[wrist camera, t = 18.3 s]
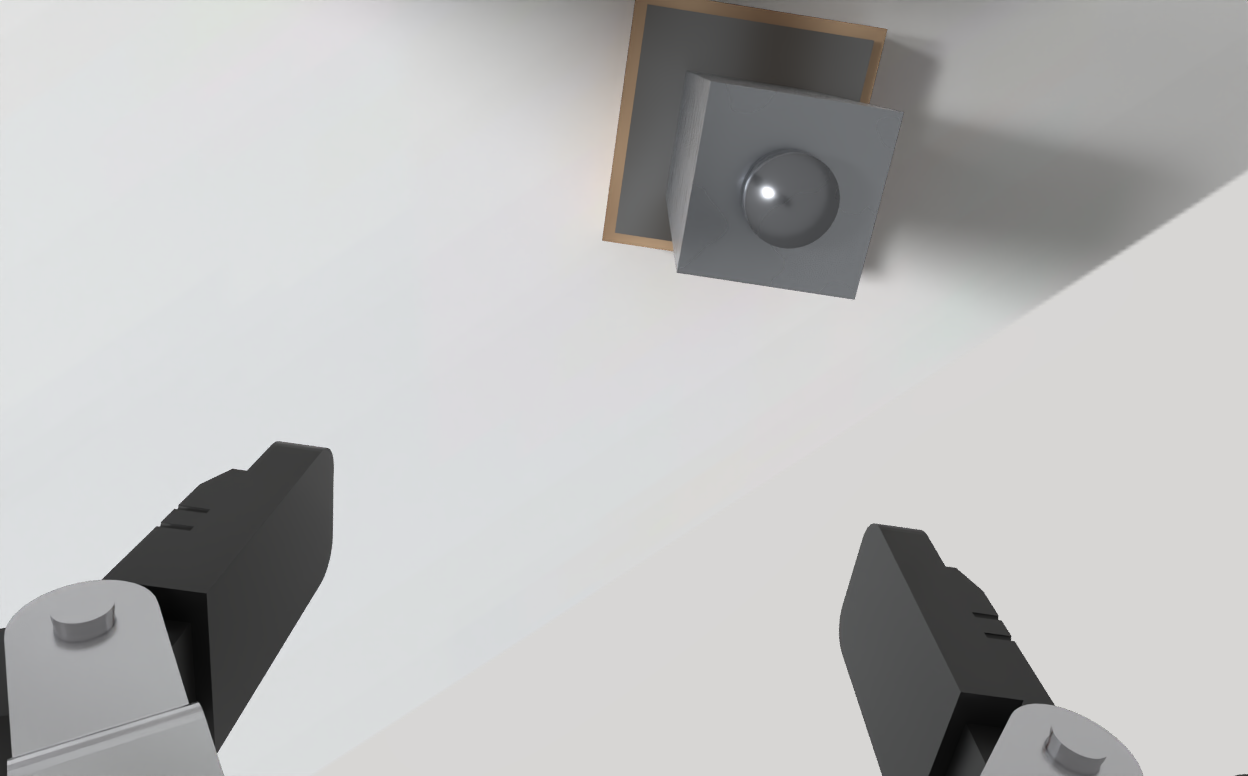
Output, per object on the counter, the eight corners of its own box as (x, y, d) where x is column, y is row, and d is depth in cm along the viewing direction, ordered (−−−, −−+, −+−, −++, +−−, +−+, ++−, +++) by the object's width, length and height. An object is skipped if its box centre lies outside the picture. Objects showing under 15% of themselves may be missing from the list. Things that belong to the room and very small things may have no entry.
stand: (605, 227, 39) (601, 242, 36) (637, -7, 35) (636, -12, 32) (814, 258, 39) (829, 276, 36) (868, 30, 35) (890, 28, 32)
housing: (665, 196, 35) (678, 282, 22) (686, 70, 33) (713, 82, 20) (782, 214, 35) (863, 309, 22) (809, 90, 33) (915, 115, 20)
